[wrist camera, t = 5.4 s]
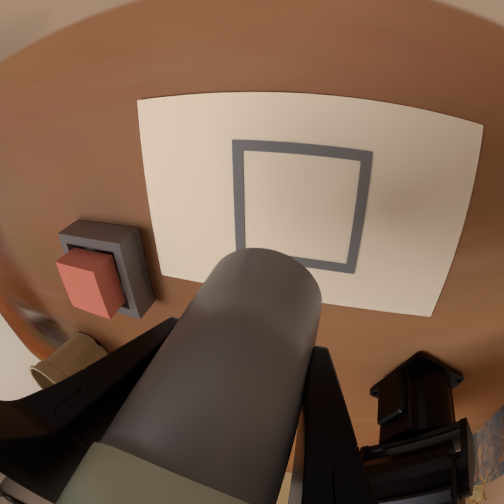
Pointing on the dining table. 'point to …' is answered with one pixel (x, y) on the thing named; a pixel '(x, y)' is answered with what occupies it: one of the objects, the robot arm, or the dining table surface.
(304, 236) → the paper sheet
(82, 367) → the flower pot
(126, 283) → the button housing
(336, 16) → the dining table surface
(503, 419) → the bent metal bracket
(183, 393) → the grey cylinder
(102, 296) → the button
